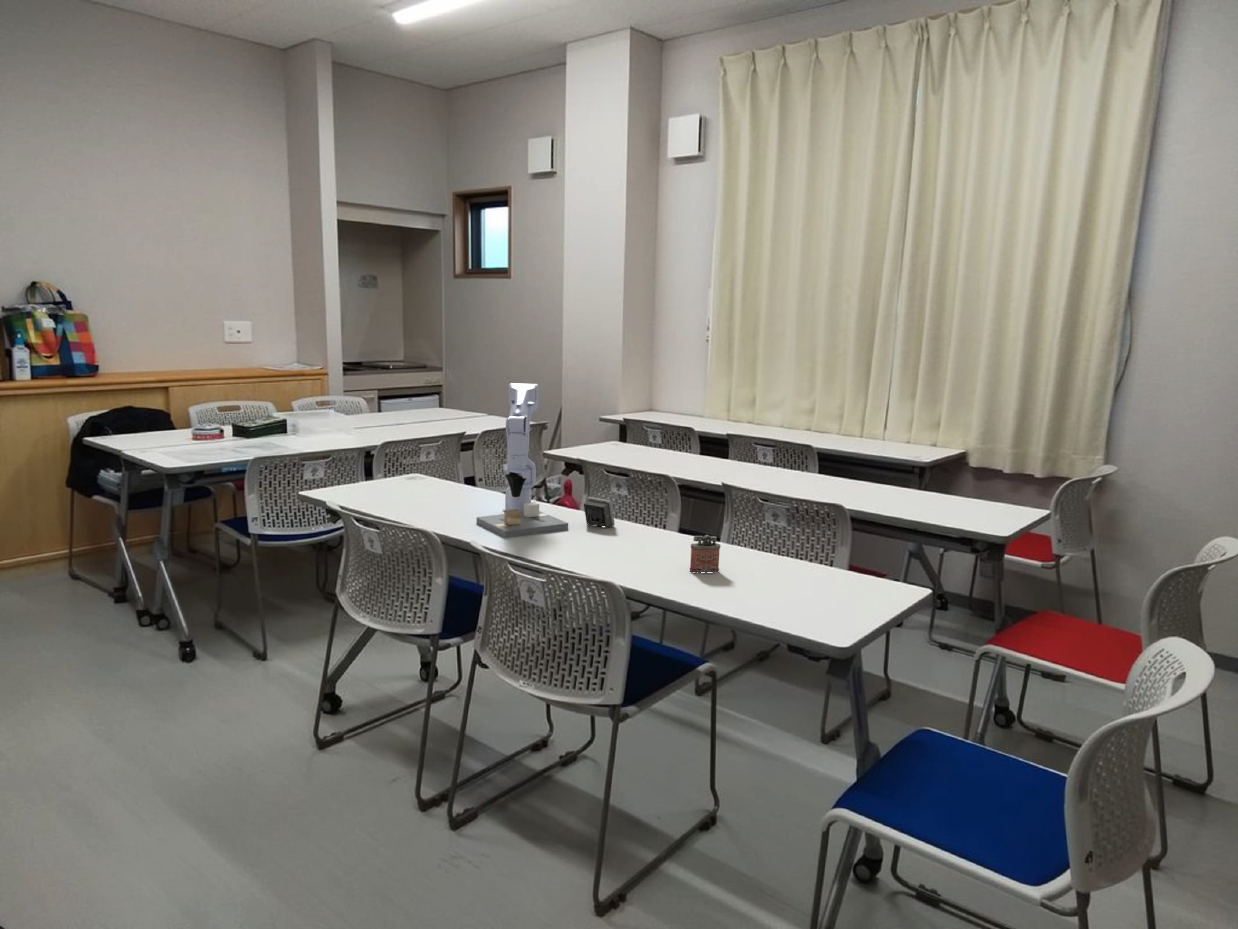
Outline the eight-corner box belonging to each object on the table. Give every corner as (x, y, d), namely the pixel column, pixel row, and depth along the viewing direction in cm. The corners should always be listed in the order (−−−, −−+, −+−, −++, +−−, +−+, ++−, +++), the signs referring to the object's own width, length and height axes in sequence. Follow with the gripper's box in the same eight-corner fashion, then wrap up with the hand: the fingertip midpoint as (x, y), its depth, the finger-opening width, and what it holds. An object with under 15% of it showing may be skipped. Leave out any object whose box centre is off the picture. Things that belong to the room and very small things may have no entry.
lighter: (716, 569, 224) (718, 533, 222) (720, 573, 221) (722, 537, 219) (688, 570, 223) (689, 534, 221) (691, 574, 219) (693, 537, 218)
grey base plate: (476, 523, 264) (476, 516, 264) (536, 515, 277) (536, 509, 276) (505, 537, 248) (505, 531, 248) (568, 529, 261) (568, 522, 260)
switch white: (523, 515, 267) (523, 503, 267) (534, 514, 270) (534, 502, 269) (528, 517, 265) (528, 505, 264) (539, 516, 267) (539, 504, 267)
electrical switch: (615, 526, 266) (614, 499, 264) (606, 531, 262) (605, 503, 260) (591, 522, 271) (590, 495, 269) (582, 526, 267) (581, 499, 265)
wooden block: (504, 523, 257) (504, 510, 256) (515, 521, 259) (516, 509, 258) (509, 525, 254) (509, 512, 254) (520, 523, 257) (520, 511, 256)
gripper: (494, 451, 263) (494, 493, 266) (515, 458, 251) (515, 502, 254) (514, 450, 267) (514, 491, 269) (536, 457, 255) (535, 500, 258)
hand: (516, 496), depth 262 cm, fingers closed
